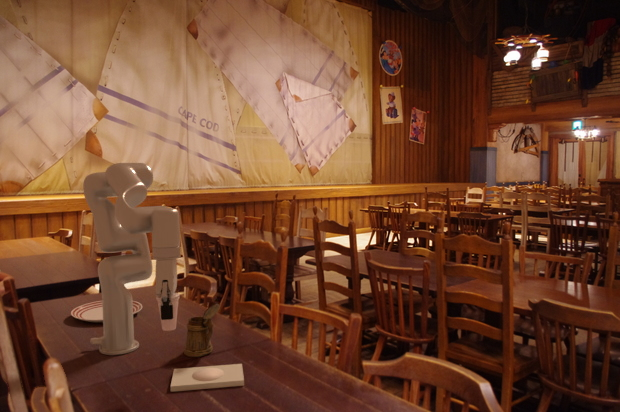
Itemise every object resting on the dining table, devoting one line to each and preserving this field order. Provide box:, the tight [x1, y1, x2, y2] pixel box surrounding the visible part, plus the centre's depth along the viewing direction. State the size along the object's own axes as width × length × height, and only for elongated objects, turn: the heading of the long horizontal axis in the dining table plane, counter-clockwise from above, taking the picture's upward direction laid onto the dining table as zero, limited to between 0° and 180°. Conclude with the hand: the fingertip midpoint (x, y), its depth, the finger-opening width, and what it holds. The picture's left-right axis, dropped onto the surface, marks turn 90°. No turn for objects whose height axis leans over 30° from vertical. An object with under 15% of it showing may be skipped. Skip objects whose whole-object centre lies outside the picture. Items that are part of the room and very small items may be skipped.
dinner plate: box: [70, 300, 143, 323], centre depth 209 cm, size 28×27×3 cm
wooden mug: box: [183, 302, 220, 358], centre depth 166 cm, size 9×14×18 cm, turn 55°
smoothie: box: [155, 292, 180, 332], centre depth 143 cm, size 6×6×14 cm
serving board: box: [170, 363, 245, 392], centre depth 146 cm, size 20×12×2 cm, turn 100°
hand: (168, 315), depth 143 cm, fingers closed on smoothie, 6 cm apart
